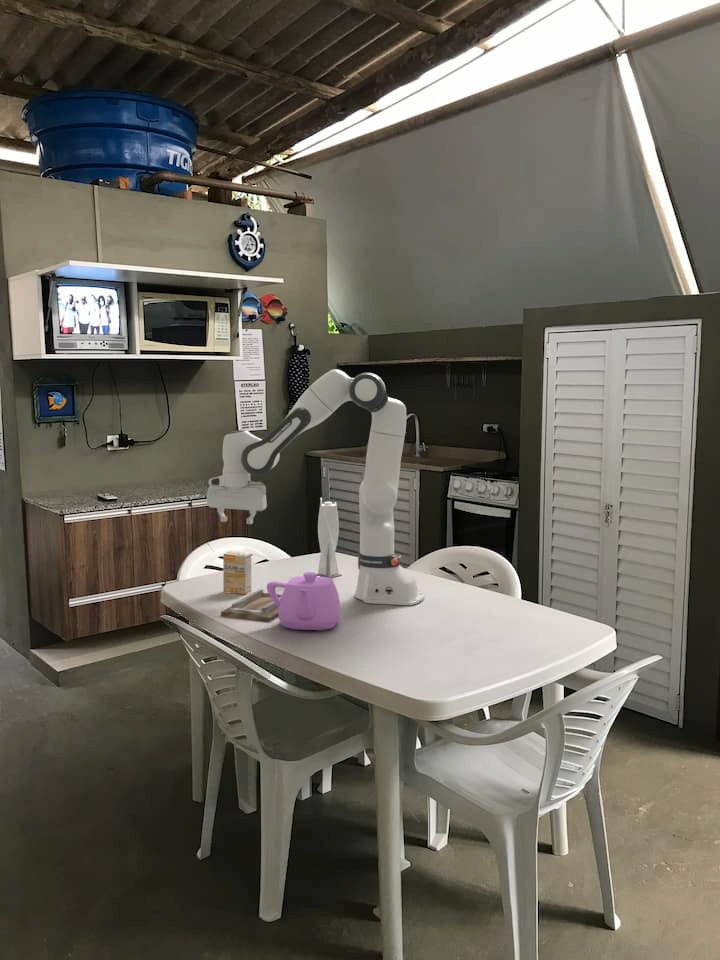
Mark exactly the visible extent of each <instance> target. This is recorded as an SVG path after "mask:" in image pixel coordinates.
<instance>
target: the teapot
mask: <svg viewBox="0 0 720 960" xmlns="http://www.w3.org/2000/svg"><path fill="white" fill-rule="evenodd" d="M317 574H318V573H316V572H314V571H308V572H307V571H306V572H303V576H293V577H290V579H289V580H288V581H287V582H286V583H285V582H281V581H269V582H268V583H267V585H266V590H267V592H268V593H269V595H270V596H271V598H272V599H273V601H274V602H275V603H276V604H277V606H278V607H279V616H278V620H279V622H280V624H281V625H282V626H283V627H284V628H286V629H291V630H294V631H297V630H298V631H299V630H303V631H304V630H305V631H308V630H309V631H310V630H311V631H312V630H314V631H317V632H319V631H320V632H321V631H325V630H329V629H333V628H334V627H335V626H336V625H337V622H338V621H339V619H340V617H341V614H342V613H341V612H342V611H341V609H342V607H341V601H340V596H339V593H338V589H337V587H336V584H335V582H334V580H333V578H327V577H317V576H316V575H317ZM278 587H279V588H284V590H283V592H282V593H281V594H282V597H281V601H280V600H279V598H278V596H277V594H276V593H277V591H276V588H278Z"/></svg>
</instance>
